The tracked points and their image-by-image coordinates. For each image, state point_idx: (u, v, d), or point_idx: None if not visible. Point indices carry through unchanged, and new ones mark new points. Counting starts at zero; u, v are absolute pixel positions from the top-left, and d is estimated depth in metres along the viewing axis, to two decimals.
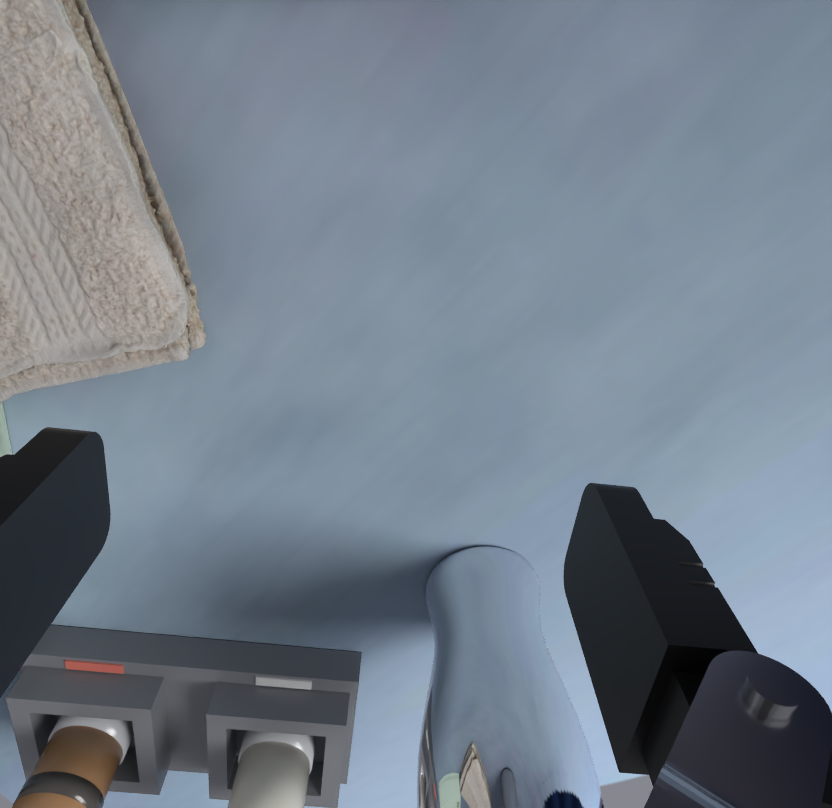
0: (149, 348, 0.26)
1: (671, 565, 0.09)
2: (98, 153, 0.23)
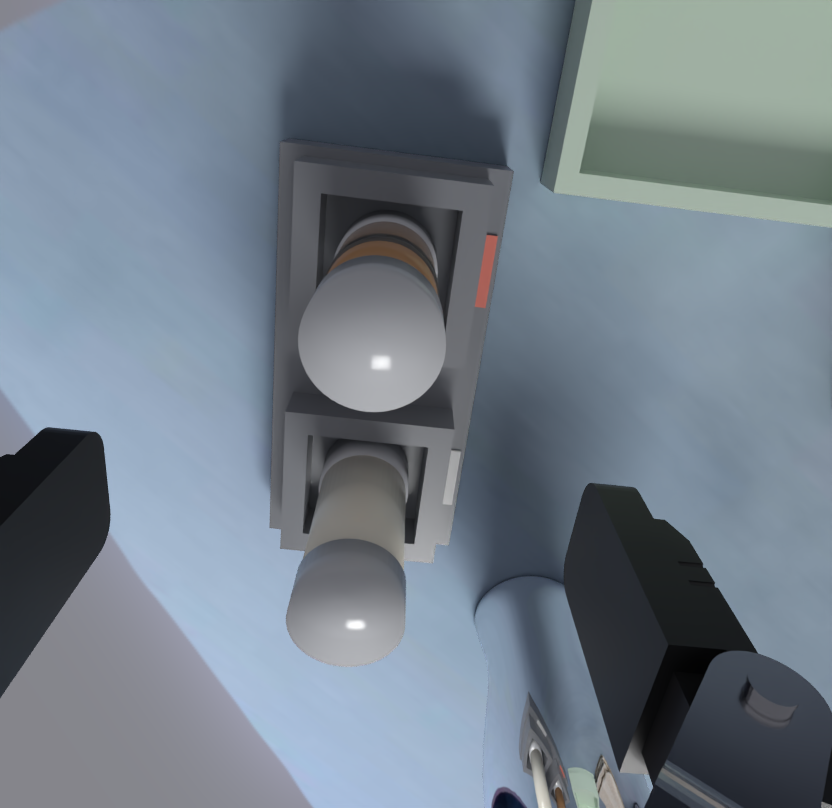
0: None
1: (671, 565, 0.09)
2: None
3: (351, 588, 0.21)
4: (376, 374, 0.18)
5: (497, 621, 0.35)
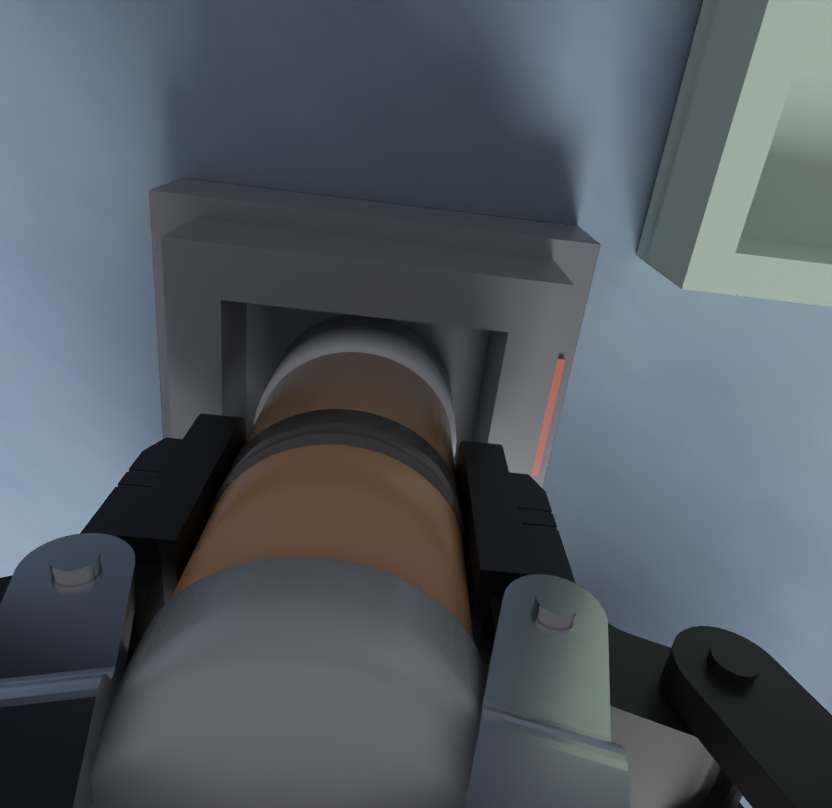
0: None
1: (509, 507, 0.09)
2: None
3: None
4: None
5: None
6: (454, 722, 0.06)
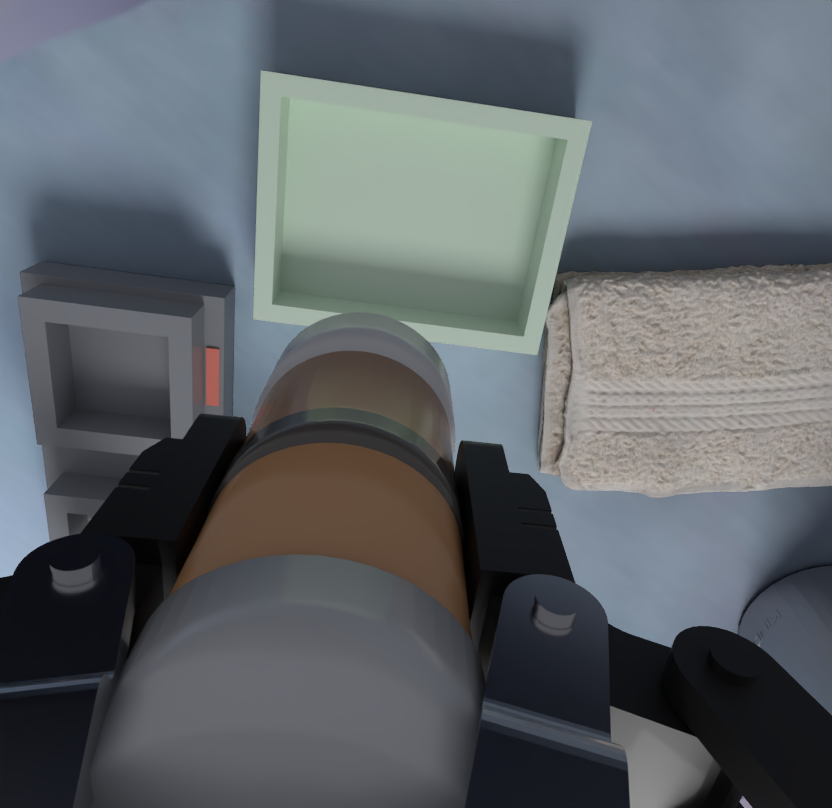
0: (561, 460, 0.34)
1: (509, 507, 0.09)
2: (698, 477, 0.34)
3: None
4: None
5: None
6: (451, 720, 0.06)
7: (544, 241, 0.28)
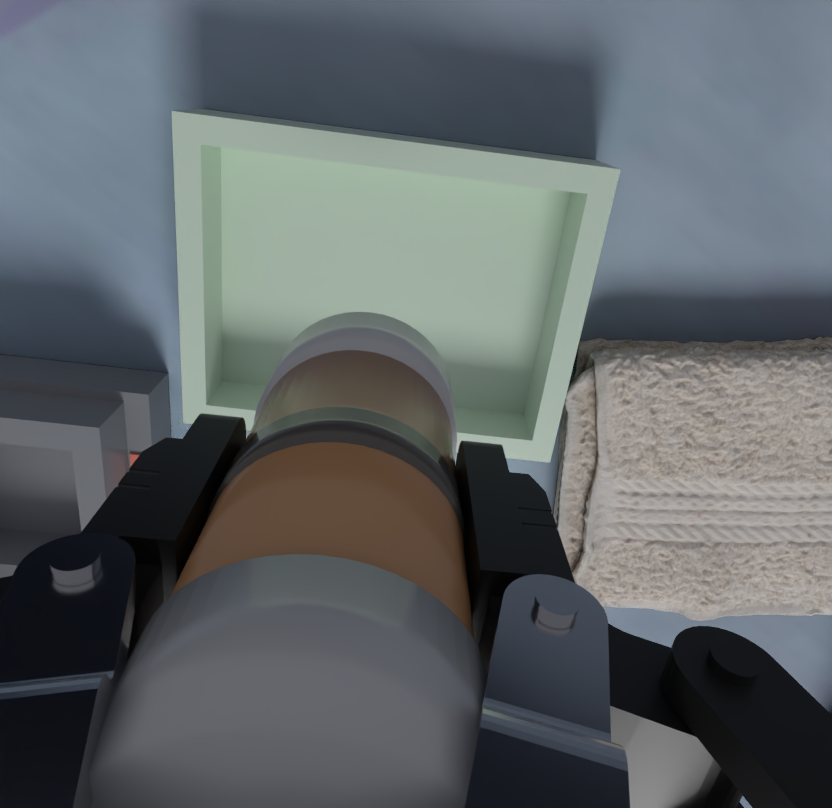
0: (579, 572, 0.27)
1: (509, 507, 0.09)
2: (751, 597, 0.27)
3: None
4: None
5: None
6: (455, 720, 0.06)
7: (557, 323, 0.21)
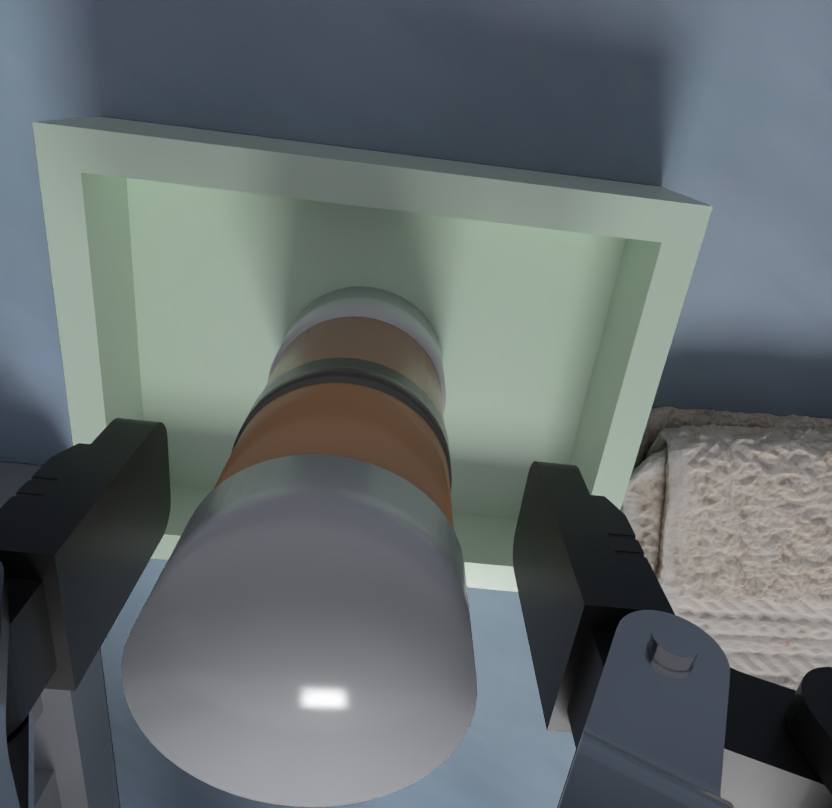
0: None
1: (599, 534, 0.09)
2: None
3: None
4: (314, 745, 0.08)
5: None
6: (435, 568, 0.07)
7: (610, 420, 0.15)
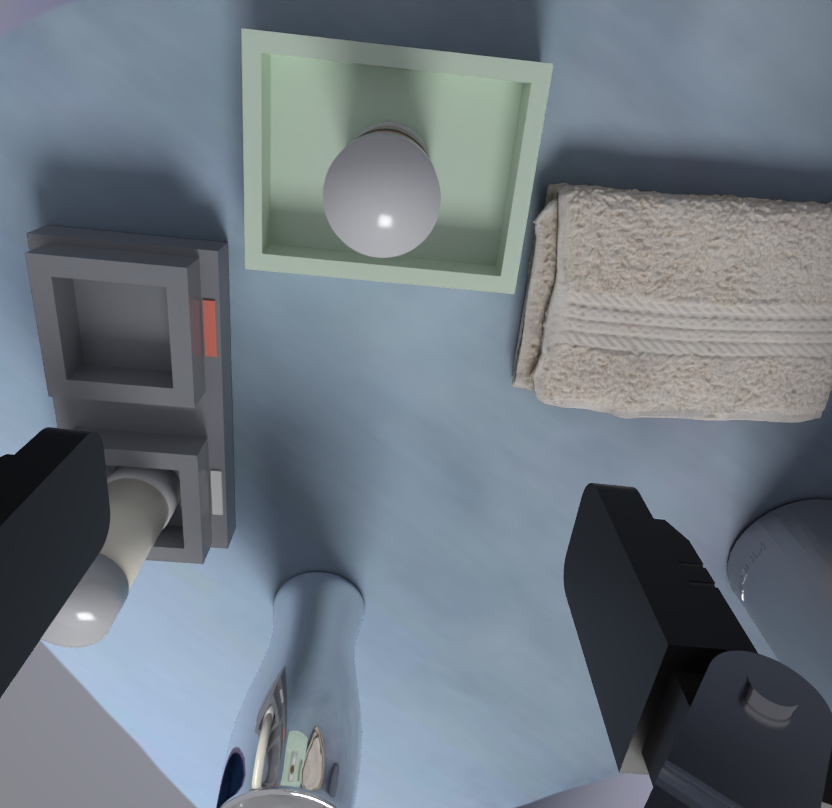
0: (536, 372, 0.34)
1: (671, 565, 0.09)
2: (664, 401, 0.35)
3: None
4: (385, 224, 0.22)
5: (280, 610, 0.41)
6: (425, 156, 0.22)
7: (515, 182, 0.30)
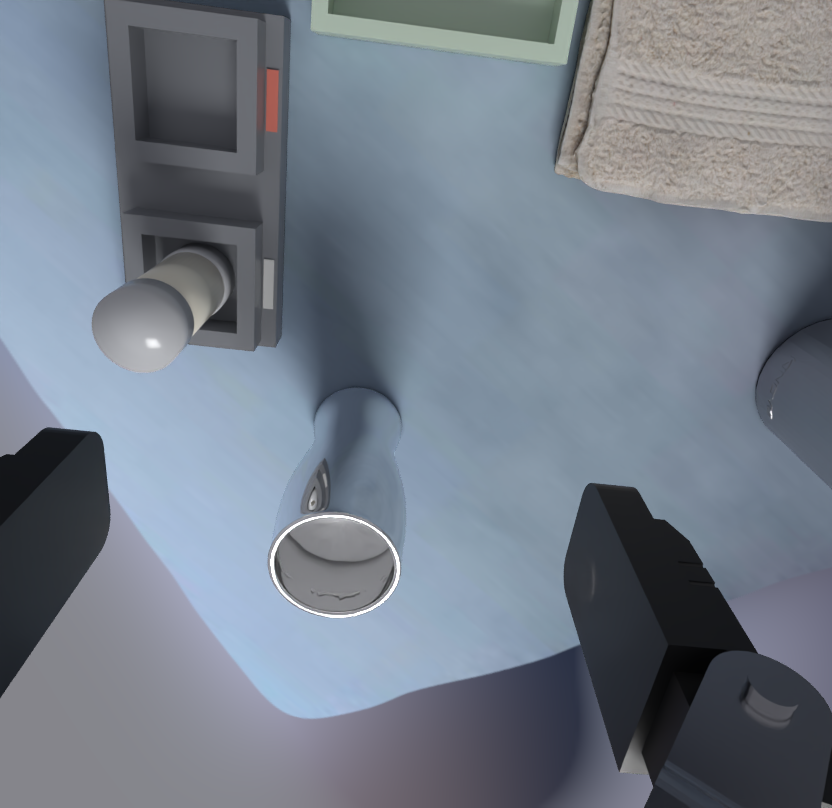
0: (581, 147, 0.36)
1: (671, 565, 0.09)
2: (701, 189, 0.37)
3: (135, 300, 0.29)
4: None
5: (323, 418, 0.43)
6: None
7: None
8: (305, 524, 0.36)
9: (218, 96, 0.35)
